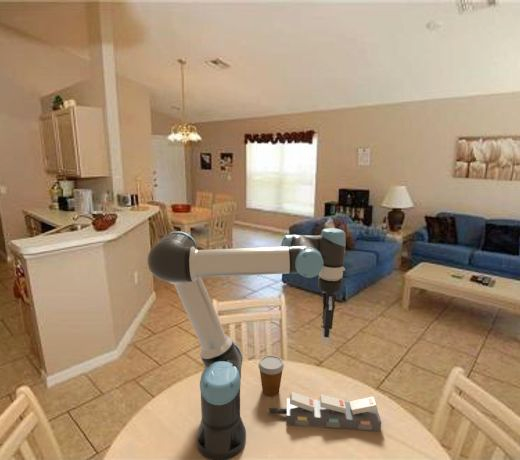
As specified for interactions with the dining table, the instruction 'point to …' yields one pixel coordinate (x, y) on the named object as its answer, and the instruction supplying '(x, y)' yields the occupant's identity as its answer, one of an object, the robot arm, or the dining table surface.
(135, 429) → the dining table surface
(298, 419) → the power strip
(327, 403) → the cream switch plate
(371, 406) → the cream rocker switch
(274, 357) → the disposable coffee cup
